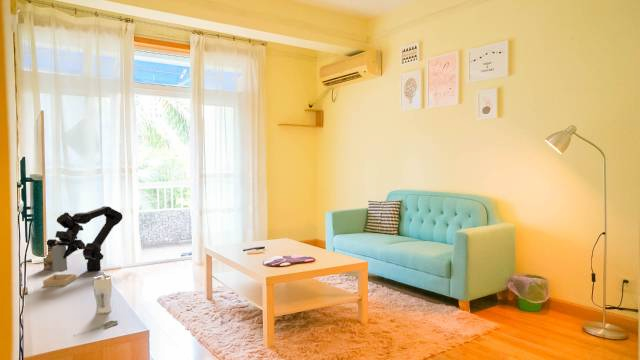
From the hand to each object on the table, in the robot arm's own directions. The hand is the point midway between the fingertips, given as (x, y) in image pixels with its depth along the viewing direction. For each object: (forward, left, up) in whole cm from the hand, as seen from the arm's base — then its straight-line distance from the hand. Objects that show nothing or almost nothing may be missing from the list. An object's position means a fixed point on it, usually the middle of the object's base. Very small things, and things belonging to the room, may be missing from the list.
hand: (59, 258), depth 226 cm
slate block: (0, 0, -7) cm, 7 cm away
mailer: (-1, -4, -13) cm, 14 cm away
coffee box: (+7, -35, -14) cm, 38 cm away
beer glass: (-23, +54, -14) cm, 60 cm away
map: (-20, +75, -14) cm, 79 cm away
